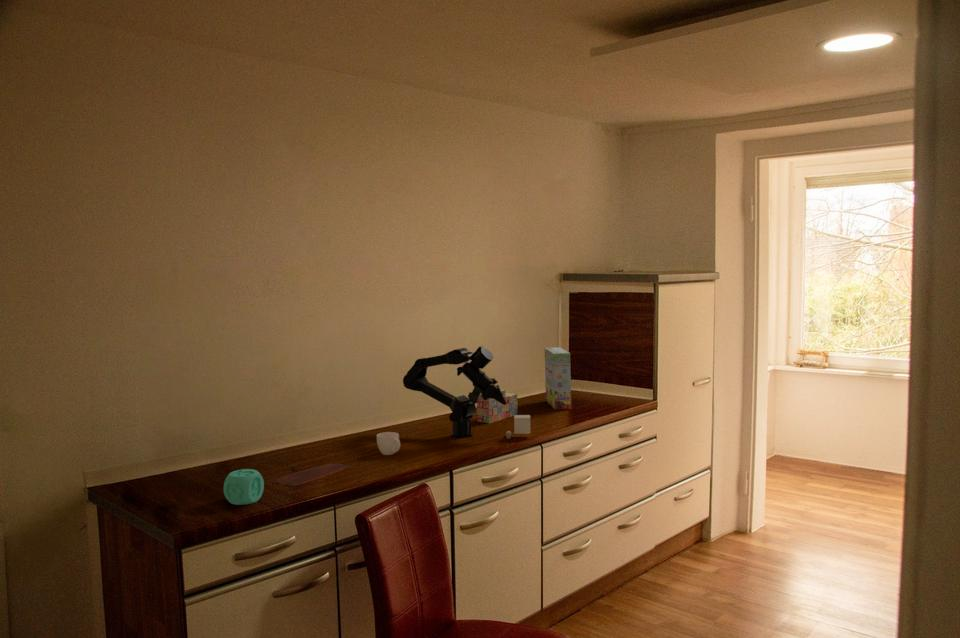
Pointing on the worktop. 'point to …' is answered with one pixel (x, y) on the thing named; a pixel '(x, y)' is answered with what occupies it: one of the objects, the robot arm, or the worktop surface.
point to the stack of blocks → (496, 408)
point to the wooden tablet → (310, 474)
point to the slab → (521, 424)
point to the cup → (388, 442)
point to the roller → (508, 435)
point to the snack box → (558, 378)
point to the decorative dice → (243, 486)
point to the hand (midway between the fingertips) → (505, 404)
